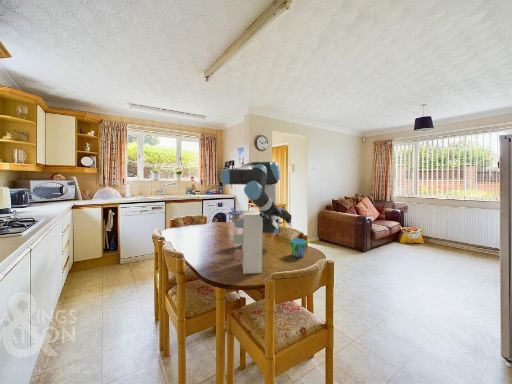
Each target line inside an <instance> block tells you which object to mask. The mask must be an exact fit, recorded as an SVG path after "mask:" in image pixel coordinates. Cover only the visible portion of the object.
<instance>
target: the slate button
mask: <svg viewBox="0 0 512 384" xmlns="http://www.w3.org/2000/svg"><path fill="white" fill-rule="evenodd" d="M233 222H234V228H236V229H242V228H243V219H242V218H235V219H234V221H233Z"/></svg>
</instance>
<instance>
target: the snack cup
mask: <svg viewBox="0 0 512 384" xmlns="http://www.w3.org/2000/svg"><path fill="white" fill-rule="evenodd" d="M289 243H290V246H291V248H290V249H291V254H292V255H291V256H293V257H295V258H303V257H304V256H305V251H306V246H307V243H308V241H307V240H306V239H303V238H292V239H290V241H289Z"/></svg>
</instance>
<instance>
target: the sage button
mask: <svg viewBox="0 0 512 384" xmlns="http://www.w3.org/2000/svg"><path fill="white" fill-rule="evenodd" d="M233 240H234V242H233V243H235V244H236V245H241V244H243V234H242V233H240V234H239V233H237V234H235V235H234V239H233Z"/></svg>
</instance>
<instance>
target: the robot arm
mask: <svg viewBox="0 0 512 384" xmlns="http://www.w3.org/2000/svg"><path fill="white" fill-rule="evenodd" d="M279 166H280V165H279V163H278V162H276V161H252V162H248V163H244V164H242V165H241V166H239V167H235V168H224V169H222V170H221V172H220V181H221V184H223V185H244V188H243V191H244V194H245V195H246V197H247V199H248V200H250V201H251V202H252V203H253V204H254V206H255V207H257V209H258V210H259V211H260V214H259V215H260V216H261V217H262V218H263V230H262V234H268V235H269V234H271V235H277V234H278V233H279V231H280V224H281V223H280V222H281V219H282V220H283V221H285V223H286V224H287V225H288V227H289V228H292V219H293V218H292V214H291V213H290V212H289V211H287V210H286V209H285V207H284V206H281V208H279V207H277V201H276V200H277V197H276V195H277V194H276V192H277V191H276V189H277V186H276V185H277V184H278V183H279V182H278V181H279V180H281V174H280V173H281V172H280V170H281V169H280V167H279ZM240 245H241V248H242V244H240Z"/></svg>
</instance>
